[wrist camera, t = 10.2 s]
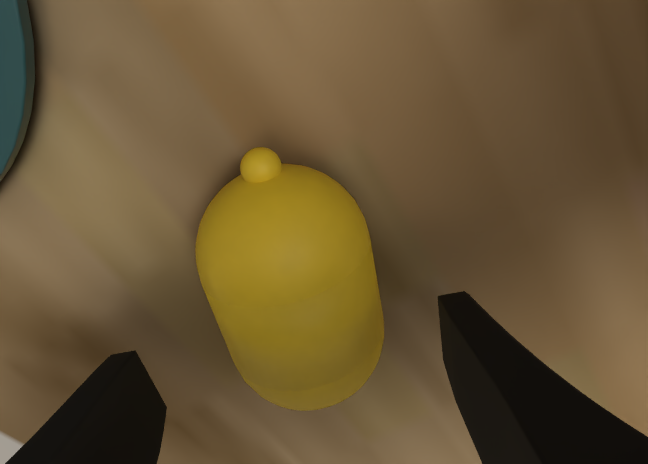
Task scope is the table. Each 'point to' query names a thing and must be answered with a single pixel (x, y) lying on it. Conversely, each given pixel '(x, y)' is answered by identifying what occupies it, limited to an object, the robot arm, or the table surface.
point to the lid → (15, 78)
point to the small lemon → (292, 282)
